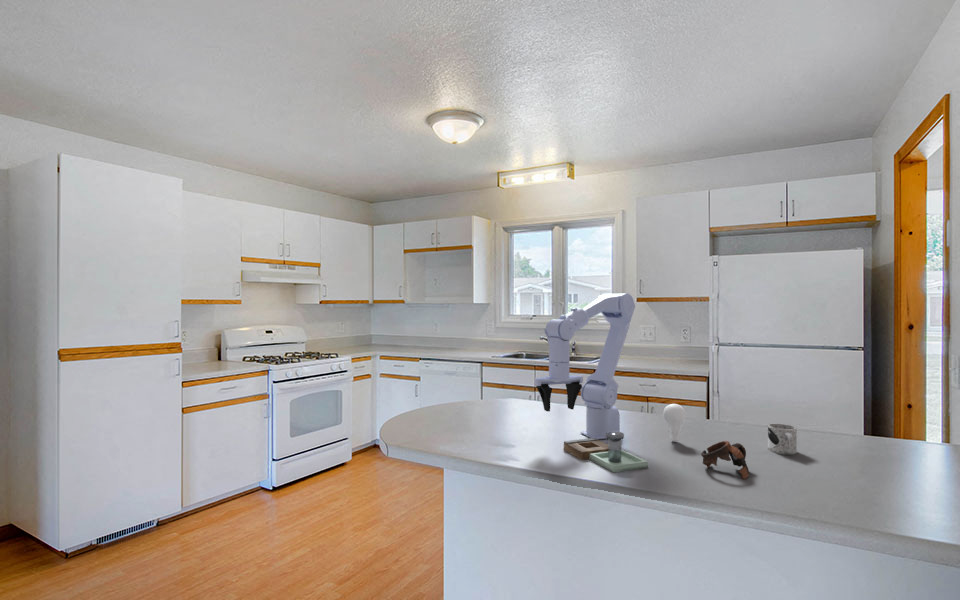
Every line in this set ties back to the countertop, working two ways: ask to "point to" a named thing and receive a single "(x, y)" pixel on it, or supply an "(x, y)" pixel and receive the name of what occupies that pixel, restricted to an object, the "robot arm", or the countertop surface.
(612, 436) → the pin
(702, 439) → the countertop surface
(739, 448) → the brown curved strap
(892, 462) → the countertop surface
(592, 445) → the block
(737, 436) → the countertop surface
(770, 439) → the mug
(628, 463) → the tray
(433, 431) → the countertop surface
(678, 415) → the lightbulb
